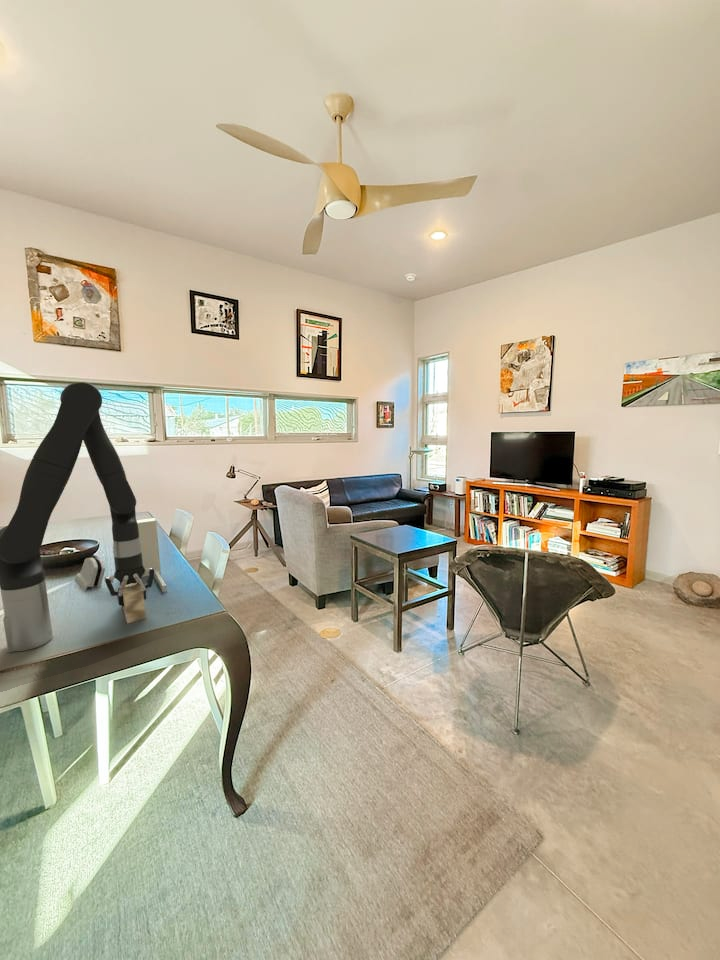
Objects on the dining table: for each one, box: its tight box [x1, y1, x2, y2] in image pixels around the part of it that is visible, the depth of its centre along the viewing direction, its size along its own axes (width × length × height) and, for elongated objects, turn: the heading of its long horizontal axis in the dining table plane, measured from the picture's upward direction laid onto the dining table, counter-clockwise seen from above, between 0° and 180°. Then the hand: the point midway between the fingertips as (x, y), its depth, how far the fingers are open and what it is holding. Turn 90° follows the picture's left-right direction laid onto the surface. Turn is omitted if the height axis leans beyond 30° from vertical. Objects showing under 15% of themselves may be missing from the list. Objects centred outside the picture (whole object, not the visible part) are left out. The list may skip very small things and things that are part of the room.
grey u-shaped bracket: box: [136, 517, 168, 594], centre depth 145 cm, size 12×26×22 cm, turn 36°
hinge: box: [74, 557, 106, 592], centre depth 148 cm, size 17×5×10 cm, turn 46°
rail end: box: [122, 583, 147, 624], centre depth 124 cm, size 5×15×9 cm, turn 36°
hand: (133, 603), depth 124 cm, fingers closed on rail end, 5 cm apart
